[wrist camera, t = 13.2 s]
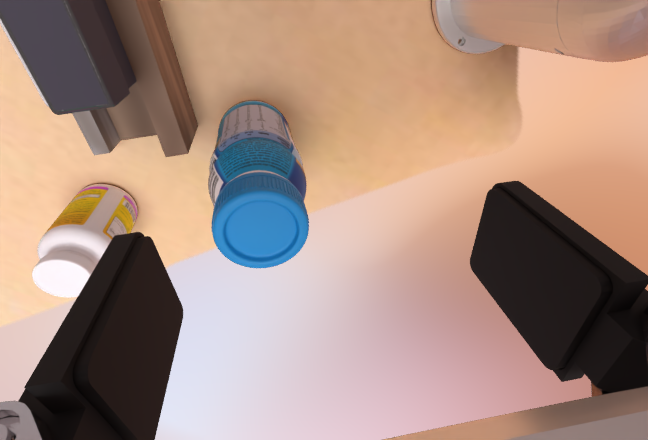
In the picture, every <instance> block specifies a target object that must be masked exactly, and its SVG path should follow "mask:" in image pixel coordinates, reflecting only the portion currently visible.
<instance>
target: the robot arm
mask: <svg viewBox="0 0 648 440" xmlns="http://www.w3.org/2000/svg"><path fill="white" fill-rule="evenodd" d="M432 11H433V16H434V21H435V24H436V26H437V29H438V31H439V33H440V35H441V36H442V38H443V39H444V40H445V41H446V42H447V43H448V44H449V45H450V46H451V47H453V48H455V49H457V50H459V51H462V52H465V53H471V54H481V53H487V52H490V51H493V50H496V49H498V48H500V47H502V46H503V45H505V44H508V45H514V46H519V47H525V48H530V49H535V50H540V51H546V52H551V53H556V54H562V55H567V56H573V57H577V58H583V59H590V60H595V61H603V62H618V61H626V60H631V59H635V58H640V57H643V56H646V55H648V0H432ZM458 41H459V42H458ZM470 265H471V268H472V271H473V272H474V273H475V275H476V276H477V277H478V279H479V280H480V281H481V283H482V284H483V285H484V287H485V288H486V289H487V291H488V292H489V293H490V295H491V296H492V297H493V299H494V300H495V301H496V302H497V304H498V305H499V307H500V308H501V309H502V310H503V312H504V313H505V314H506V316H507V317H508V318H509V319H510V321H511V322H512V324H513V325H514V326H515V327H516V328H517V330H518V332H519V333H520V334H521V336H522V337H523V338H524V339H525V341H526V342H527V343H528V344H529V346H530V347H531V349H532V350H533V351H534V353H535V354H536V355H537V357H538V358H539V359H540V361H541V362H542V363H543V364H544V365H545V366H546V367H547V368H548V369H550V370H553V371H554V372H555V374H556V375H557V376H558V378H559V379H560V380H561V381H562V382H563V381H568V380H573V379H578V378H582V377H583V375H584V374H585V375H586V376H587V377H588V378H589V379H590V380H591V390H592V391H591V392H592V397H589V398H584V399H579V400H574V401H569V402H564V403H559V404H554V405H549V406H545V407H539V408H534V409H530V410H524V411H520V412H514V413H509V414H505V415H500V416H495V417H490V418H485V419H480V420H475V421H470V422H465V423H461V424H456V425H451V426H447V427H442V428H437V429H432V430H427V431H422V432H417V433H412V434H407V435H403V436H398V437H393V438H388V439H384V440H648V291H647V290H646V289H645V288H646V286H647V285H648V276H647V275H646V274H645V273H643V272H642V271H641V270H639V269H638V268H636V267H635V266H634V265H632V264H631V263H630V262H628V261H627V260H626V259H624V258H623V257H622V256H620V255H619V254H617V253H616V252H615V251H613V250H612V249H611V248H609V247H608V246H607V245H605V244H604V243H602V242H601V241H599V240H598V239H597V238H596V237H594V236H593V235H592V234H590V233H589V232H587V231H586V230H585V229H584V228H582V227H581V226H579V225H578V224H577V223H575V222H574V221H573V220H571V219H570V218H568V217H567V216H566V215H564V214H563V213H562V212H560V211H559V210H558V209H556V208H555V207H554V206H552V205H551V204H550V203H548V202H547V201H546V200H544V199H543V198H541V197H540V196H539V195H537V194H536V193H535V192H533V191H532V190H531V189H529V188H527V186H525V185H524V184H522V183H521V182H519V181H512V182H504V183H497V184H495V185H494V186H493V188H492V189H491V190H489V192H488V193H487V196H486V200H485V204H484V208H483V212H482V216H481V219H480V223H479V227H478V231H477V235H476V239H475V243H474V246H473V250H472V255H471V258H470ZM182 319H183V308H182V305H181V302H180V300H179V298H178V296H177V293H176V291H175V289H174V287H173V285H172V282H171V280H170V278H169V276H168V273H167V271H166V269H165V267H164V265H163V262H162V260H161V258H160V256H159V254H158V251H157V249H156V247H155V245H154V242H153V240H152V239H151V238H150V237H148V236H147V237H144V235H143V234H142V233H140V232H135V233H128V234H121V235H116V236H114V237H113V238H112V240H111V242H110V243H109V245H108V247H107V248H106V250H105V252H104V253H103V255H102V257H101V259H100V260H99V262H98V264H97V265H96V267H95V269H94V270H93V272H92V274H91V276H90V277H89V279H88V281H87V282H86V284H85V286H84V287H83V289H82V291H81V292H80V294H79V296H78V298H77V299H76V301H75V303H74V304H73V306H72V308H71V309H70V312H69V313H68V315H67V316H66V318H65V320H64V321H63V323H62V325H61V326H60V328H59V330H58V332H57V333H56V335H55V336H54V338H53V340H52V342H51V343H50V345H49V347H48V348H47V350H46V352H45V354H44V355H43V357H42V358H41V360H40V362H39V364H38V365H37V367H36V369H35V370H34V372H33V374H32V375H31V377H30V379H29V381H28V382H27V384H26V386H25V388H26V389H25V391H24V392H23V394H22V396H21V398H20V399H19V401H6V402H0V440H154V439H155V435H156V431H157V427H158V422H159V418H160V413H161V409H162V405H163V401H164V397H165V392H166V388H167V383H168V380H169V375H170V371H171V366H172V362H173V358H174V354H175V349H176V345H177V340H178V336H179V332H180V328H181V323H182Z"/></svg>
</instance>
